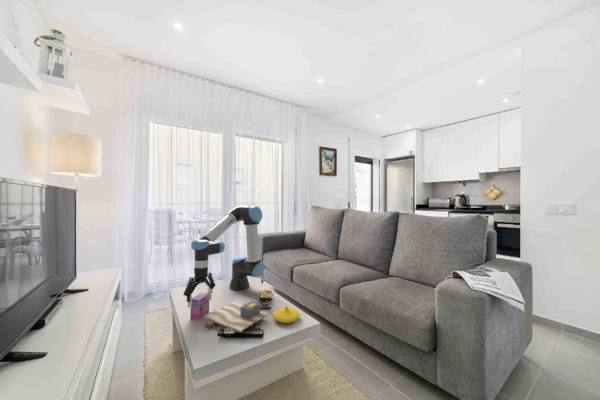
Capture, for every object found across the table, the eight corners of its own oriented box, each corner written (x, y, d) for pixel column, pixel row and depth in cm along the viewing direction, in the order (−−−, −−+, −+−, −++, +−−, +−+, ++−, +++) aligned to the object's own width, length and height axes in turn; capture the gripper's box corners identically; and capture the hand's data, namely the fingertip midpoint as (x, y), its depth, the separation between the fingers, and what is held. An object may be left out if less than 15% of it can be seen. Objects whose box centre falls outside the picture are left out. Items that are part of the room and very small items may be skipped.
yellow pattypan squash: (297, 312, 151) (297, 301, 151) (302, 325, 136) (302, 312, 136) (271, 314, 149) (272, 302, 149) (273, 327, 133) (273, 314, 133)
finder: (250, 309, 146) (250, 300, 146) (260, 312, 142) (260, 303, 143) (240, 315, 138) (240, 306, 138) (250, 318, 135) (250, 309, 135)
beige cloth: (232, 307, 156) (232, 302, 156) (267, 319, 142) (267, 313, 142) (198, 324, 134) (198, 318, 134) (236, 340, 120) (236, 333, 120)
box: (199, 320, 138) (199, 299, 138) (190, 319, 140) (190, 298, 140) (209, 312, 149) (209, 293, 149) (200, 311, 150) (201, 292, 150)
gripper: (213, 261, 157) (212, 295, 157) (177, 270, 135) (176, 309, 135) (222, 263, 153) (220, 297, 153) (186, 272, 132) (184, 312, 131)
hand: (199, 303), depth 144 cm, fingers open, 13 cm apart
